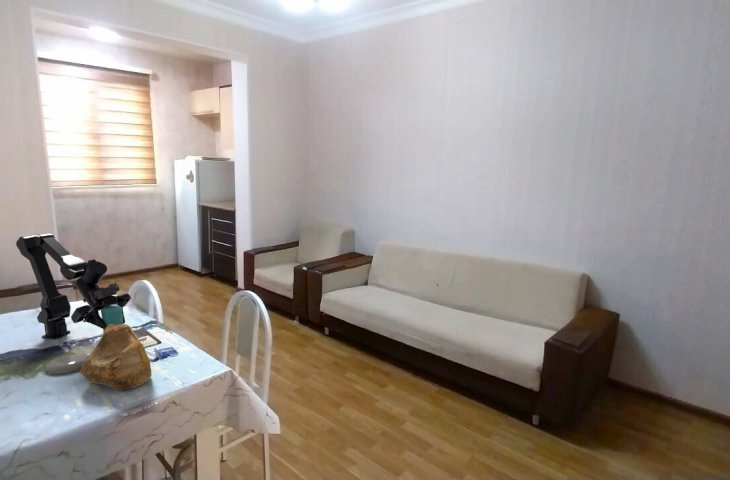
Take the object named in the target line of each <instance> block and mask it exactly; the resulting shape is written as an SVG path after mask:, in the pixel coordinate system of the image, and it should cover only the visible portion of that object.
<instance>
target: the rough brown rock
mask: <svg viewBox="0 0 730 480" xmlns="http://www.w3.org/2000/svg"><path fill="white" fill-rule="evenodd" d="M88 355H89V356H88V357H87V358H86V360H85V362H84V364H83V365H82V368H81V370H79V374H80V375H81V376H83V377H84V378H85V379H87V380H88V381H89V383H93V384H95V385H97V384H98V385H105V386H106V387H109V388H112V389H115V390H116V391H117V390H118V391H124V392H125V391H126V390H127V389H134V388H136V387H138V386H141V385H143V384H145V383H146V382H147V381H149V380H150V378H151V377H152V366H151V362H150V358H149V357H148V354H147V351H146V349H145V348H144V346H143V344H142V343H141V342H140V341H139V339H138V337H137V336H136V334H135V333H134V332H133V329H132V327H131V326H130V325H129V324H126V323H124V324H120V325H114V324H110V325H108V326H107V327H106V329H105V331H104V333H103V332H102V336H101V338H100V340H99V341H98V343H97V344H96V346H95V347H94V349H93V351H91V352H90V354H88Z"/></svg>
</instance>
